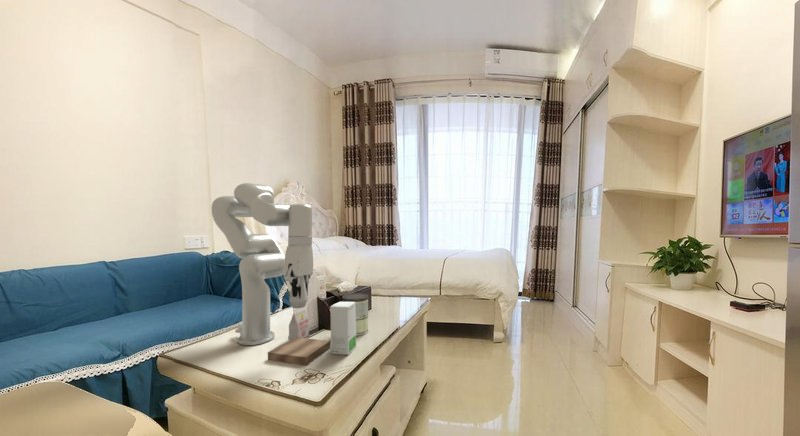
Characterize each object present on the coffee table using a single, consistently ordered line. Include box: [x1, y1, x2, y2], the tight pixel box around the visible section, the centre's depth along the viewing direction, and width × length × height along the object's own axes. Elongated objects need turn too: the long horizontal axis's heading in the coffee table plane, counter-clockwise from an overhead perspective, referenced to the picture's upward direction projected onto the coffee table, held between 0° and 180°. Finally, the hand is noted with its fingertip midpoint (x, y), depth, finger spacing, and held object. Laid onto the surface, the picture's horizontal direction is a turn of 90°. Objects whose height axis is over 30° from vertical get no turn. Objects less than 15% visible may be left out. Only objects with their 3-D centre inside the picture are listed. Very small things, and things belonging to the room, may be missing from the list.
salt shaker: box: [288, 276, 309, 309], centre depth 103 cm, size 6×6×13 cm
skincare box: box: [329, 301, 357, 356], centre depth 106 cm, size 8×7×16 cm
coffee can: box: [341, 292, 369, 337], centre depth 125 cm, size 10×10×14 cm
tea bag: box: [288, 309, 310, 341], centre depth 117 cm, size 4×7×10 cm, turn 160°
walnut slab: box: [267, 337, 331, 367], centre depth 103 cm, size 14×14×2 cm
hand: (299, 296), depth 103 cm, fingers closed on salt shaker, 3 cm apart
